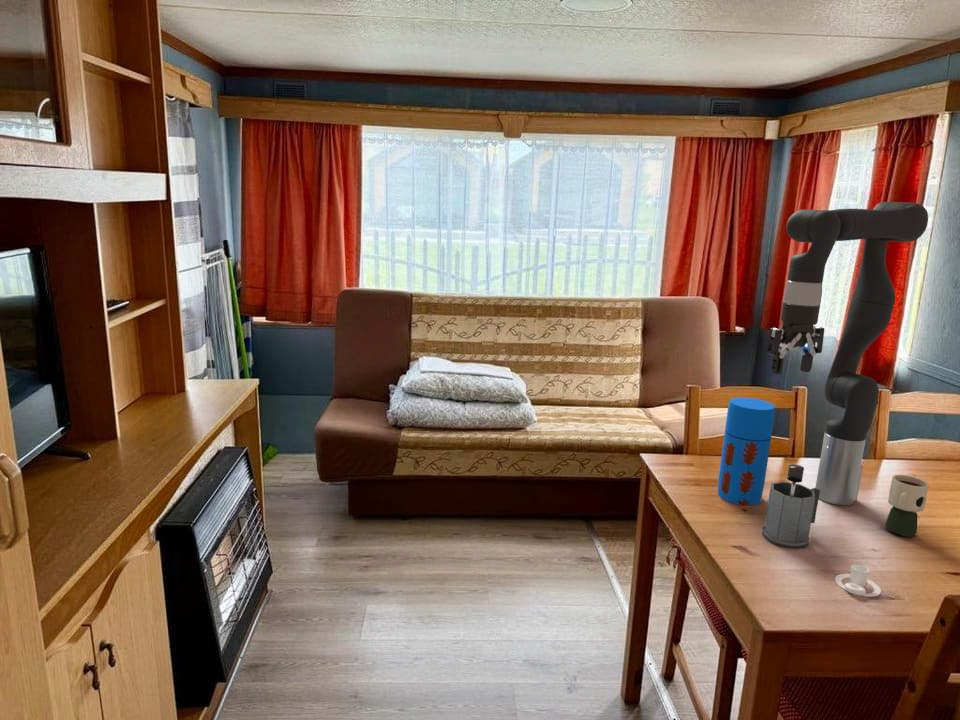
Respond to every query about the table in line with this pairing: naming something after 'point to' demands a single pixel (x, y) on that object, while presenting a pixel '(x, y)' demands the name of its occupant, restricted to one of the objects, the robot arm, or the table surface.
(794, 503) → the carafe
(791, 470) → the plunger
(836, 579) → the teacup and saucer
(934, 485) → the table surface
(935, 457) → the table surface
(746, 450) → the thermos
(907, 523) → the character mug
